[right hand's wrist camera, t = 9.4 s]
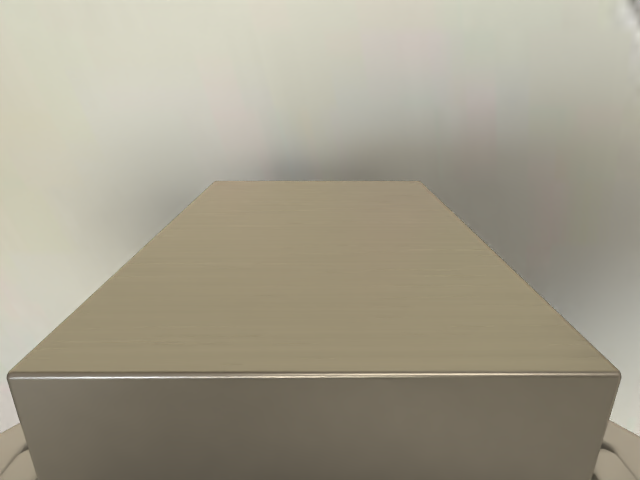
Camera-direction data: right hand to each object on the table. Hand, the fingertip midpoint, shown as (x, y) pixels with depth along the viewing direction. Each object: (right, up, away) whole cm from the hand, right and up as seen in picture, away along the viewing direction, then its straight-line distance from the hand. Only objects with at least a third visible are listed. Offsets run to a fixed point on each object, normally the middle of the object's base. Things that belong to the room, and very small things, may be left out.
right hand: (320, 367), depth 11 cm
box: (0, -8, +7) cm, 11 cm away
